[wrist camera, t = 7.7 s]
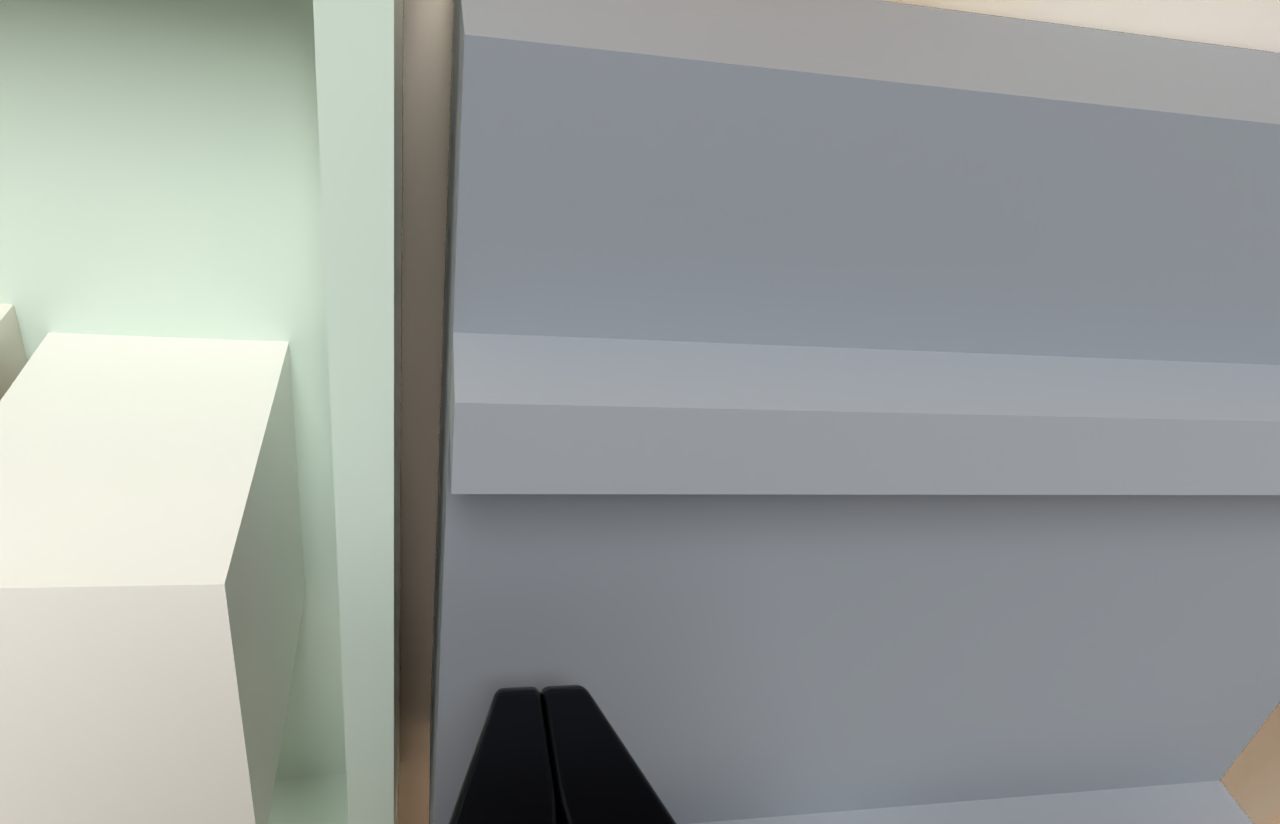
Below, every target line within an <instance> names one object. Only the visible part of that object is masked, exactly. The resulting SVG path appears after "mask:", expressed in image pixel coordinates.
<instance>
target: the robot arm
mask: <svg viewBox="0 0 1280 824" xmlns="http://www.w3.org/2000/svg"><path fill="white" fill-rule="evenodd" d="M449 824H676V822H675V821H674V819H673V818H672V816H671V815H670V813H669V812H668V810H667V809H666V807H665V806H664V804H663V803H662V801H661V800H660V798H659V797H658V795H657V794H656V792H655V791H654V789H653V787H652V786H651V784H650V783H649V781H648V780H647V778H646V777H645V775H644V774H643V772H642V771H641V769H640V768H639V766H638V765H637V763H636V762H635V760H634V759H633V757H632V756H631V754H630V753H629V751H628V750H627V748H626V747H625V745H624V744H623V742H622V741H621V739H620V738H619V736H618V735H617V733H616V732H615V730H614V729H613V727H612V726H611V724H610V723H609V721H608V720H607V718H606V717H605V715H604V714H603V712H602V711H601V709H600V708H599V706H598V705H597V703H596V702H595V700H594V699H593V697H592V696H591V694H590V693H589V692H588V690H587V689H586V688H584V687H583V686H581V685H560V686H547V687H544V688H543V689H542V690H541V692H539V690H538V689H537V688H535V687H510V688H500V689H498V690H497V691H496V692H495V694H494V696H493V699H492V702H491V704H490V707H489V710H488V713H487V716H486V719H485V722H484V724H483V727H482V730H481V733H480V736H479V739H478V742H477V744H476V747H475V750H474V753H473V756H472V759H471V761H470V764H469V767H468V770H467V773H466V776H465V779H464V781H463V784H462V787H461V790H460V793H459V796H458V799H457V801H456V804H455V807H454V810H453V813H452V816H451V818H450V821H449Z"/></svg>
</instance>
